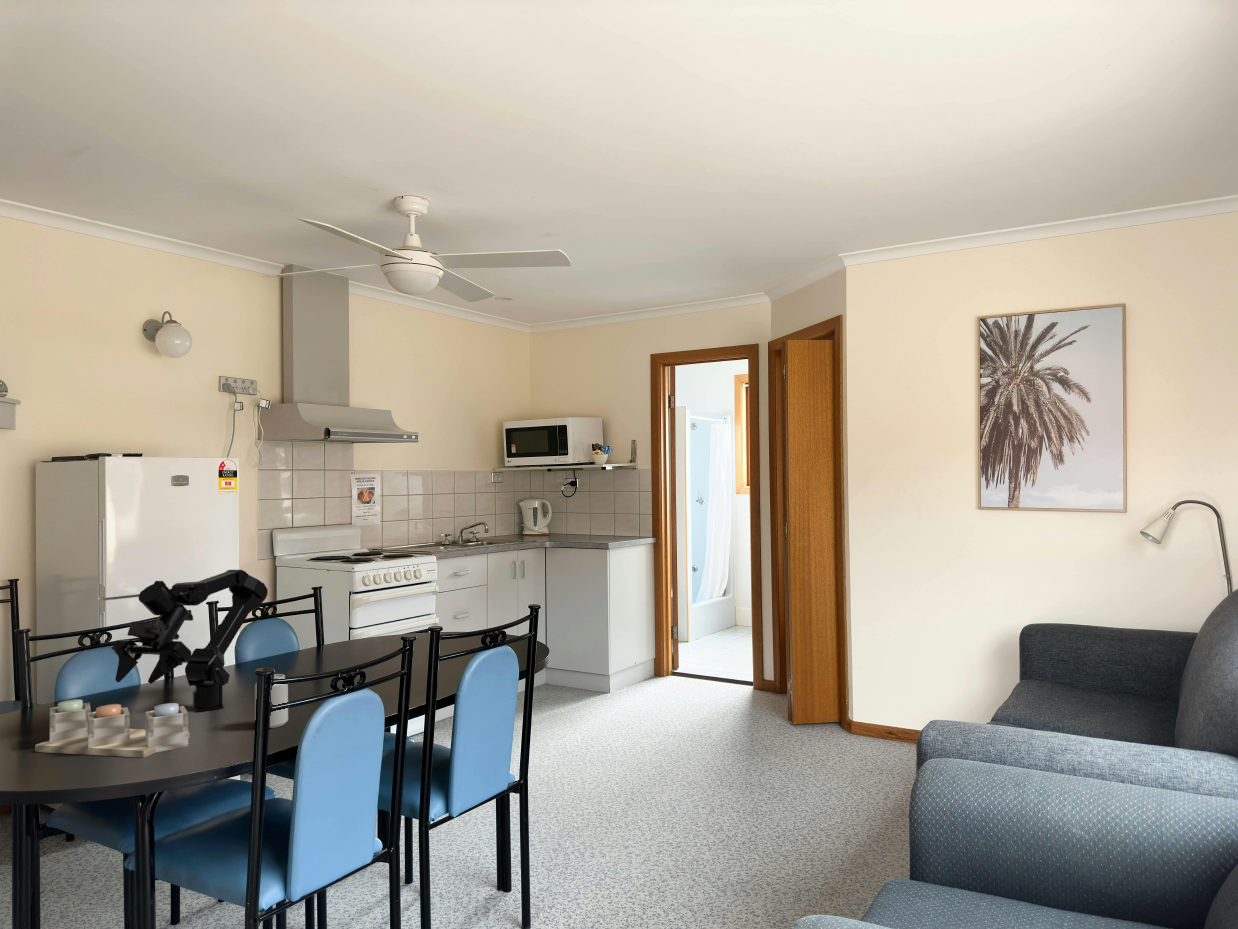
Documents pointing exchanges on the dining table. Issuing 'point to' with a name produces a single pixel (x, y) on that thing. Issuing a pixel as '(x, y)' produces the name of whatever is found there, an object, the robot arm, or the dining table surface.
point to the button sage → (70, 705)
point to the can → (277, 702)
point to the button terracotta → (108, 710)
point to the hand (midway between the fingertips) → (133, 682)
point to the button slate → (166, 709)
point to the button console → (114, 733)
